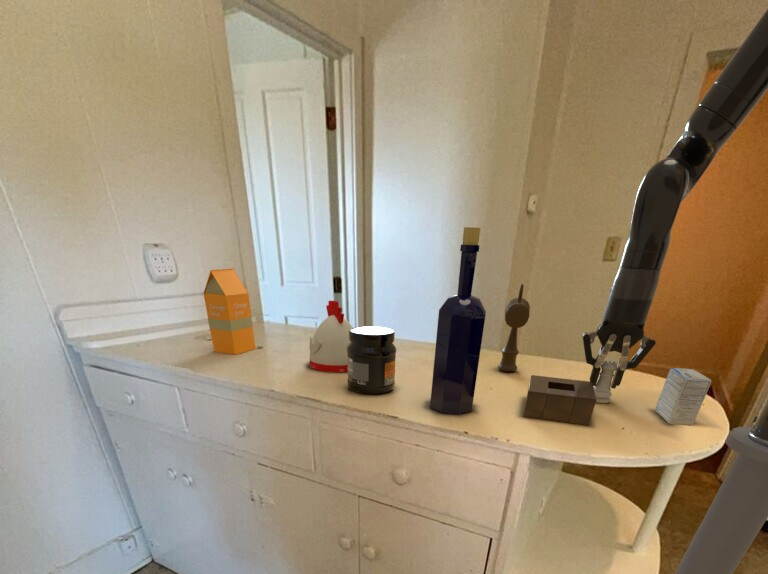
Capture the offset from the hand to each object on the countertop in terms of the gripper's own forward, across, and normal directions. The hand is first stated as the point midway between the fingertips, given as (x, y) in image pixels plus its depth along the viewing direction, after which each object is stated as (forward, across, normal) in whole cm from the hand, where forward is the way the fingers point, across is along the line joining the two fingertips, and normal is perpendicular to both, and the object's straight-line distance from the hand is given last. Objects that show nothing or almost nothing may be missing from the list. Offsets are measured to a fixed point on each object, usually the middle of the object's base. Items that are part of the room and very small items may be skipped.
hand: (603, 385), depth 90 cm
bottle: (+3, -29, -17) cm, 34 cm away
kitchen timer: (+3, -63, +3) cm, 63 cm away
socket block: (+3, -9, -11) cm, 15 cm away
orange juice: (+3, -96, +6) cm, 96 cm away
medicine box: (+3, +13, -6) cm, 15 cm away
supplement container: (+3, -48, -12) cm, 50 cm away
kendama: (+3, -21, +17) cm, 27 cm away
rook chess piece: (+3, 0, 0) cm, 3 cm away
